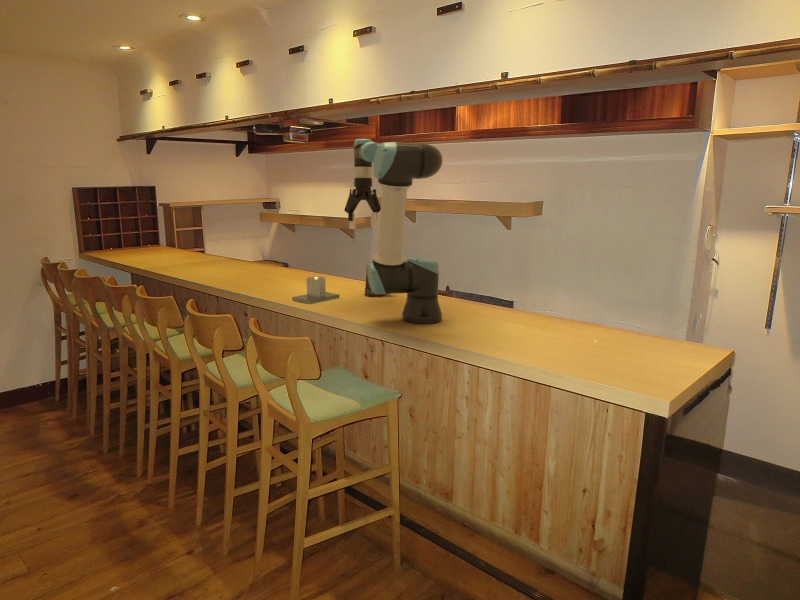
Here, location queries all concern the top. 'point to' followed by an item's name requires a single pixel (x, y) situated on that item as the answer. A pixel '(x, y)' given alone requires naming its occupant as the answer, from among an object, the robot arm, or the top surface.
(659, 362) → the top surface
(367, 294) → the mug
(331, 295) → the shaft stand
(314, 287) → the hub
